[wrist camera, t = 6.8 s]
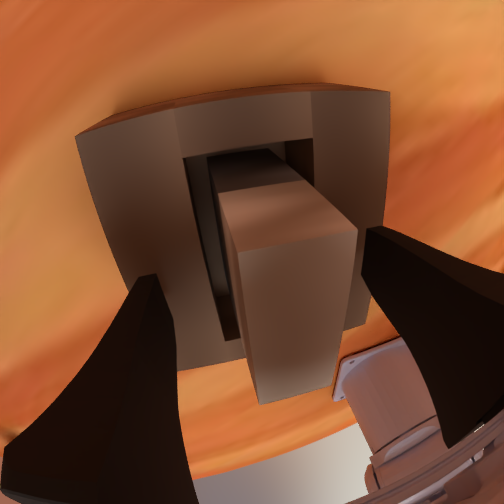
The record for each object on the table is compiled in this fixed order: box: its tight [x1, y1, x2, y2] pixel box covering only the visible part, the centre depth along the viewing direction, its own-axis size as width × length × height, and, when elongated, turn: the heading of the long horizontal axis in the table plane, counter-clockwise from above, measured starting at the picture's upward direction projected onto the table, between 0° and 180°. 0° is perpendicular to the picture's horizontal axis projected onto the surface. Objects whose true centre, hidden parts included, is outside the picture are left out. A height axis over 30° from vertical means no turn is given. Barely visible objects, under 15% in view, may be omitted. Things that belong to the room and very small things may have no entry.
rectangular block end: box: [206, 148, 358, 405], centre depth 10 cm, size 2×6×7 cm, turn 4°
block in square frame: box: [75, 83, 390, 371], centre depth 13 cm, size 10×11×5 cm
